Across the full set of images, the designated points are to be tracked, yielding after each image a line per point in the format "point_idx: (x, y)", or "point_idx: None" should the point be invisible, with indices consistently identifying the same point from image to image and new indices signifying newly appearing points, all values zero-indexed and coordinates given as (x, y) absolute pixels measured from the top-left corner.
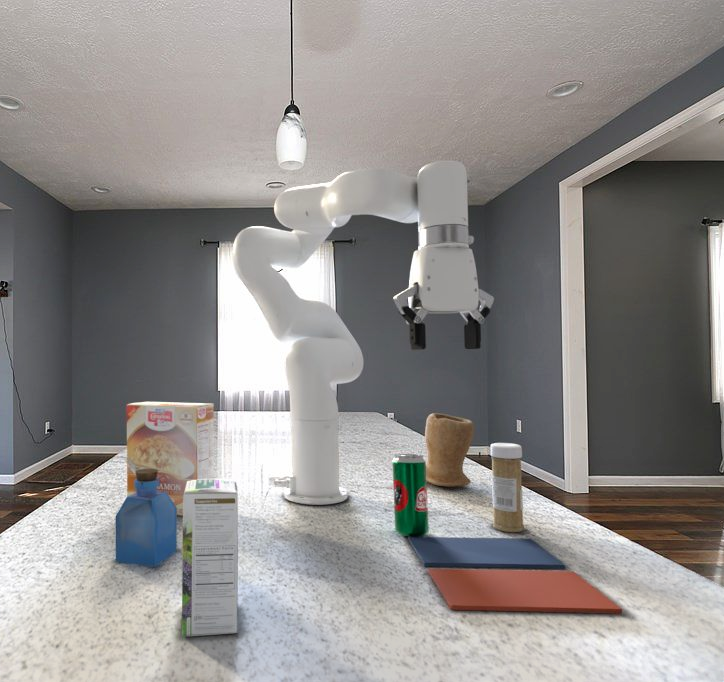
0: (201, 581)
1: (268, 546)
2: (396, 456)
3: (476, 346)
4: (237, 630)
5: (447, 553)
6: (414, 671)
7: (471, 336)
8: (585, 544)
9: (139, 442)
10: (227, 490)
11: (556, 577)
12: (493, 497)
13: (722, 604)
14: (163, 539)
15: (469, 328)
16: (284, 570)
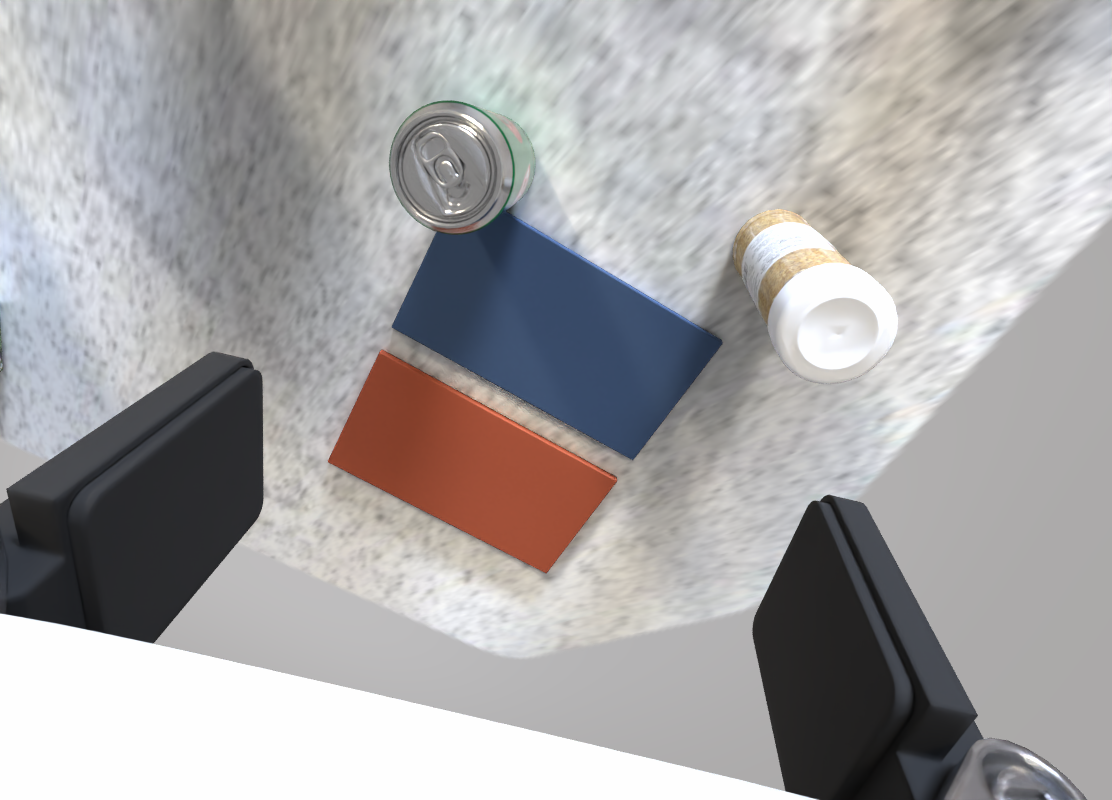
0: None
1: (93, 36)
2: (392, 160)
3: (757, 635)
4: (2, 367)
5: (470, 314)
6: None
7: (798, 668)
8: (812, 406)
9: None
10: None
11: (564, 481)
12: (754, 251)
13: (703, 616)
14: None
15: (838, 729)
16: (108, 200)
